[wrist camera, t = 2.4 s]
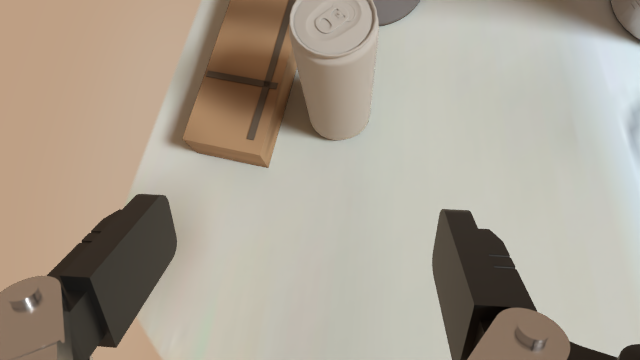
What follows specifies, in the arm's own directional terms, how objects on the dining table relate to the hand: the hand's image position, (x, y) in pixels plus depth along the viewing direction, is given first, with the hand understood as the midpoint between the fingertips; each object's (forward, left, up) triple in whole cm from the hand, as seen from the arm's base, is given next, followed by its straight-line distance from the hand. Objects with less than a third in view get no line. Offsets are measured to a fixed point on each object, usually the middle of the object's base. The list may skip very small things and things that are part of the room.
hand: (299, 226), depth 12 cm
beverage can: (-5, -11, -18) cm, 22 cm away
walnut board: (-2, -20, -18) cm, 27 cm away
